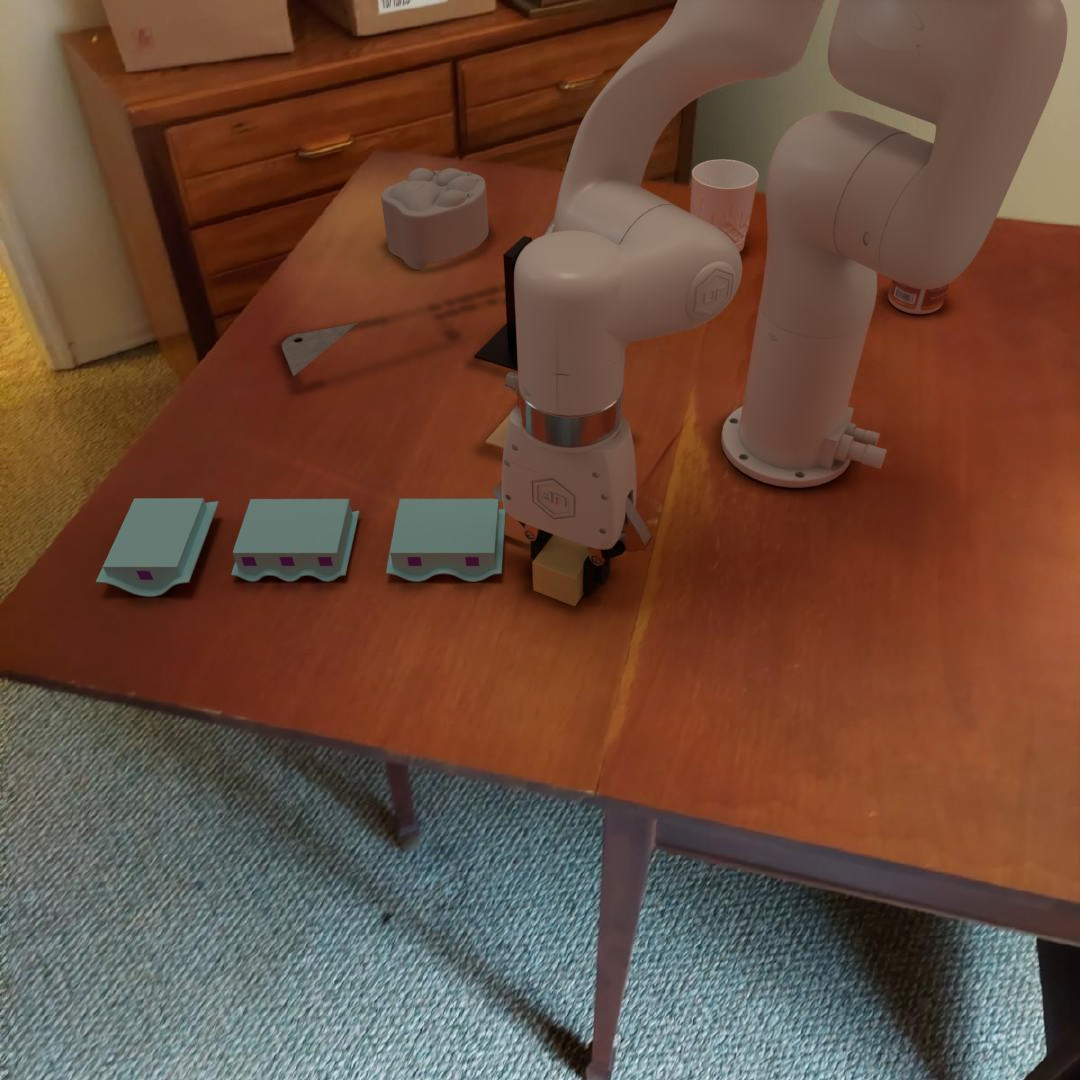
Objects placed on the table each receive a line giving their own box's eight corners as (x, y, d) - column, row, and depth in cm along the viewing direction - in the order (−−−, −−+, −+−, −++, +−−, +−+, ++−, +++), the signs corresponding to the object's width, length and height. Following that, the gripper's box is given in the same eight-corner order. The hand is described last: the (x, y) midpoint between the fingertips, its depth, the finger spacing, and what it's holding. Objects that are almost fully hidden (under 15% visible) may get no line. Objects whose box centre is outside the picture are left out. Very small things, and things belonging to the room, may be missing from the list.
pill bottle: (939, 290, 113) (967, 201, 105) (944, 318, 109) (974, 227, 101) (885, 286, 114) (908, 197, 106) (888, 313, 110) (913, 223, 102)
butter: (565, 545, 85) (565, 517, 82) (605, 560, 84) (607, 532, 81) (532, 590, 81) (532, 562, 79) (574, 607, 80) (575, 579, 77)
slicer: (527, 310, 112) (524, 216, 103) (597, 330, 109) (599, 234, 100) (474, 364, 105) (467, 267, 96) (547, 386, 101) (545, 288, 93)
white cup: (685, 233, 124) (692, 157, 117) (747, 236, 123) (758, 160, 116) (683, 264, 119) (690, 186, 111) (747, 267, 118) (759, 189, 111)
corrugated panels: (139, 516, 89) (103, 596, 82) (129, 492, 87) (91, 573, 80) (506, 515, 88) (501, 597, 81) (504, 492, 86) (499, 573, 79)
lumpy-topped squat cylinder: (379, 243, 124) (369, 178, 118) (462, 213, 129) (457, 150, 123) (421, 276, 118) (413, 209, 112) (507, 243, 123) (504, 178, 117)
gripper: (445, 400, 70) (464, 570, 83) (656, 470, 64) (640, 640, 77) (497, 348, 75) (507, 516, 88) (698, 408, 69) (676, 579, 82)
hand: (569, 573), depth 82 cm, fingers closed on butter, 4 cm apart
